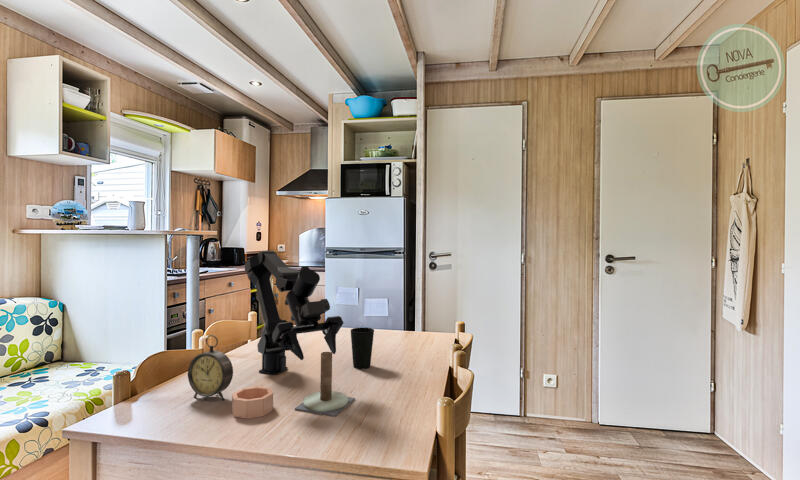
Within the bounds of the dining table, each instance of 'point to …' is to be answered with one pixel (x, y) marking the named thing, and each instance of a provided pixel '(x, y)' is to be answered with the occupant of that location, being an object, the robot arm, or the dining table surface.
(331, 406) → the wooden peg on disc
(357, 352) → the cup
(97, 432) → the dining table surface
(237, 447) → the dining table surface
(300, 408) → the mat
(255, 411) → the bowl
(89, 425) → the dining table surface
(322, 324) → the robot arm
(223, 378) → the alarm clock
